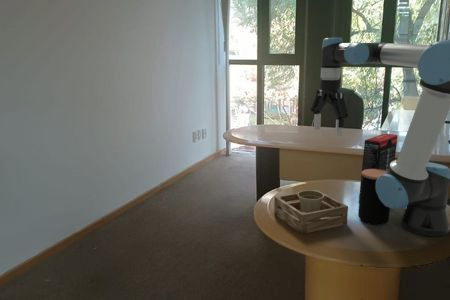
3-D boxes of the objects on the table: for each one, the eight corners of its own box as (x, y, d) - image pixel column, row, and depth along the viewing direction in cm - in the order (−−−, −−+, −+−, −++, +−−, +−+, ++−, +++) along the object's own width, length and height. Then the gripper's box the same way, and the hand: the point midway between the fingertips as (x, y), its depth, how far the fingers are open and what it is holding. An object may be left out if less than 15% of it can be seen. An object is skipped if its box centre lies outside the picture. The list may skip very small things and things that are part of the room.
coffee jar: (387, 228, 139) (392, 179, 134) (356, 223, 143) (359, 175, 138) (389, 216, 148) (394, 170, 144) (359, 212, 152) (363, 167, 148)
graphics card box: (376, 193, 171) (381, 132, 165) (392, 197, 167) (398, 134, 160) (357, 204, 160) (362, 139, 153) (374, 209, 155) (380, 141, 148)
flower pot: (294, 220, 143) (295, 197, 141) (298, 210, 152) (299, 189, 150) (321, 223, 141) (322, 200, 138) (323, 213, 149) (325, 191, 147)
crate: (346, 224, 142) (348, 206, 140) (301, 234, 135) (302, 215, 133) (315, 206, 159) (316, 189, 157) (274, 213, 152) (274, 196, 150)
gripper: (360, 80, 144) (356, 137, 150) (318, 76, 166) (316, 126, 172) (344, 81, 141) (340, 139, 147) (303, 77, 163) (301, 127, 169)
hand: (327, 132), depth 159 cm, fingers open, 13 cm apart
